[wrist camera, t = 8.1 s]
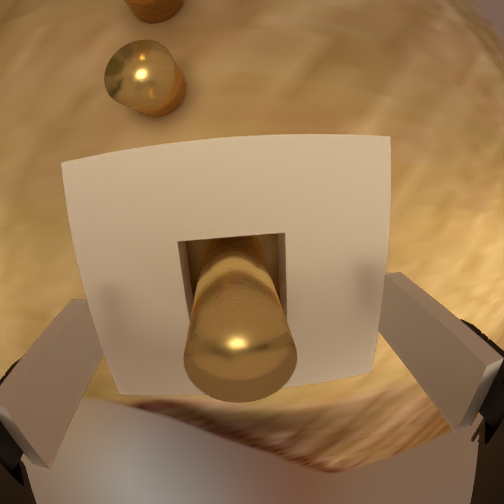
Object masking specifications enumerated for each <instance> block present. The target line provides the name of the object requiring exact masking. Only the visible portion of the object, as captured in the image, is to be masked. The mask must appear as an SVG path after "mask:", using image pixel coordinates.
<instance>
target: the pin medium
mask: <svg viewBox="0 0 504 504" xmlns="http://www.w3.org/2000/svg"><path fill="white" fill-rule="evenodd" d="M124 1H125V2H126V3H127V5H128V6H129V8H130V9H131V10H132V12H133V13H134V15H135V16H136V17H137V18H138V19H139V20H141V21H143V22H146V23H158V22H162V21H165V20H167V19H169V18H171V17H172V16H174V15H175V14H176V13H177V12H178V11H179V10H180V9H181V7H182V5H183V2H184V0H124Z"/></svg>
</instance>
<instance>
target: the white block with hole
mask: <svg viewBox="0 0 504 504" xmlns="http://www.w3.org/2000/svg"><path fill="white" fill-rule="evenodd" d="M61 165H62V174H63V183H64V191H65V199H66V205H67V212H68V218H69V224H70V230H71V235H72V240H73V245H74V250H75V255H76V259H77V264H78V268H79V272H80V276H81V280H82V284H83V288H84V292H85V296H86V299H87V301H88V305H89V308H90V312H91V315H92V318H93V322H94V325H95V328H96V331H97V334H98V337H99V340H100V343H101V346H102V349H103V352H104V356H105V359H106V361H107V364H108V367H109V369H110V372H111V375H112V377H113V380H114V382H115V385H116V387H117V390H118V392H119V394H120V395H144V396H181V395H207V394H205V393H203V392H202V391H200V390H199V389H198V388H197V387H196V386H195V385H194V384H193V383H192V382H191V380H190V379H189V377H188V375H187V373H186V371H185V368H184V351H185V345H186V340H187V334H188V329H189V324H190V318H191V313H192V308H193V303H194V300H193V293H192V286H191V280H190V272H189V265H188V258H187V250H186V242H185V241H188V240H200V239H212V238H224V237H236V236H248V235H261V234H273V233H278V258H279V289H280V304H281V306H282V309H283V312H284V315H285V318H286V320H287V323H288V326H289V329H290V332H291V334H292V337H293V340H294V343H295V346H296V350H297V364H296V368H295V370H294V373H293V375H292V376H291V378H290V379H289V381H288V382H287V383H286V384H285V385H284V386H283V387H282V388H287V387H294V386H301V385H308V384H314V383H321V382H326V381H332V380H338V379H343V378H348V377H353V376H358V375H363V374H367V373H371V372H372V367H373V362H374V356H375V351H376V345H377V339H378V333H379V331H378V325H379V319H380V311H381V304H382V296H383V287H384V277H385V274H386V270H387V259H388V246H389V230H390V207H391V149H390V137H387V136H370V135H345V134H283V135H257V136H240V137H226V138H214V139H203V140H193V141H184V142H176V143H168V144H160V145H153V146H146V147H140V148H133V149H127V150H121V151H116V152H110V153H105V154H100V155H95V156H90V157H85V158H80V159H76V160H71V161H67V162H62V163H61Z"/></svg>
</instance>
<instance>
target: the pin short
mask: <svg viewBox="0 0 504 504" xmlns="http://www.w3.org/2000/svg"><path fill="white" fill-rule="evenodd" d="M104 81H105V87H106V90H107V92H108V94H109V95H110V96H111V97H112V98H113V99H114V100H115V101H117V102H119V103H121V104H123V105H125V106H127V107H130V108H132V109H134V110H136V111H138V112H141V113H143V114H145V115H148V116H152V117H160V116H164V115H167V114H169V113H171V112H173V111H174V110H175V109H177V107H178V106H179V105H180V104H181V103H182V101H183V99H184V97H185V94H186V82H185V79H184V77H183V75H182V73H181V72H180V70H179V68H178V66H177V64H176V63H175V61H174V59H173V58H172V56H171V54H170V52H169V51H168V50H167V49H166V47H164V46H163V45H162V44H160V43H158V42H156V41H152V40H138V41H134V42H131V43H129V44H127V45H125V46H124V47H122V48H121V49H119V50H118V51H117V52H116V53H115V54H114V55H113V57H112V58H111V59H110V61H109V63H108V65H107V67H106V70H105V77H104Z"/></svg>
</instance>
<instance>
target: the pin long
mask: <svg viewBox="0 0 504 504" xmlns="http://www.w3.org/2000/svg"><path fill="white" fill-rule="evenodd" d="M296 364H297V350H296V346H295V343H294V340H293V337H292V334H291V332H290V329H289V326H288V323H287V320H286V318H285V315H284V312H283V309H282V306H281V304H280V301H279V298H278V295H277V292H276V290H275V287H274V284H273V281H272V278H271V276H270V273H269V270H268V267H267V265H266V262H265V259H264V256H263V253H262V251H261V248H260V245H259V242H258V240H257V237H256V236H255V235H248V236H236V237H224V238H212V239H207V241H206V245H205V249H204V254H203V259H202V263H201V268H200V273H199V278H198V283H197V288H196V293H195V298H194V303H193V308H192V313H191V318H190V324H189V329H188V334H187V340H186V345H185V351H184V368H185V371H186V373H187V375H188V377H189V379H190V380H191V382H192V383H193V384H194V385H195V386H196V387H197V388H198V389H199V390H200V391H202V392H203V393H205V394H207V395H209V396H211V397H213V398H216V399H218V400H222V401H227V402H238V403H239V402H251V401H255V400H259V399H262V398H265V397H267V396H269V395H271V394H273V393H275V392H277V391H278V390H279V389H281V388H282V387H283V386H284V385H285V384H286V383H287V382H288V381H289V379H290V378H291V376H292V375H293V373H294V370H295V368H296Z"/></svg>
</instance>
